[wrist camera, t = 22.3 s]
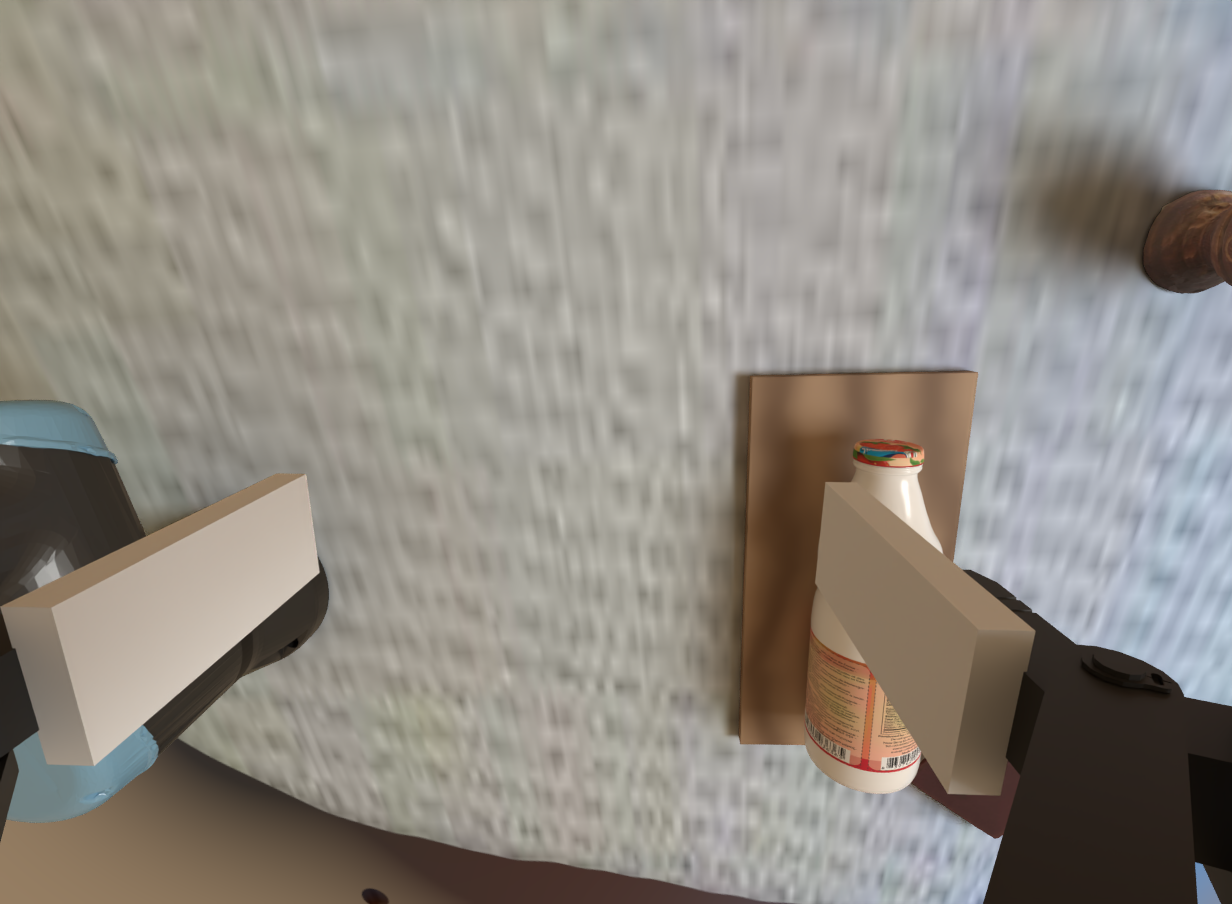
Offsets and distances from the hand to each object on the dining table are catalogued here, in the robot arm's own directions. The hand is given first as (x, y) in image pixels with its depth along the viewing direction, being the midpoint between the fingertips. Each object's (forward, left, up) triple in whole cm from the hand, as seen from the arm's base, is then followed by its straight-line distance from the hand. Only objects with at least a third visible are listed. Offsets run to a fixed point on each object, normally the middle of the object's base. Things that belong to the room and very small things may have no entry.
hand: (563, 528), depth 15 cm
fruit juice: (+20, -34, -30) cm, 49 cm away
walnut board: (+20, -19, -36) cm, 45 cm away
